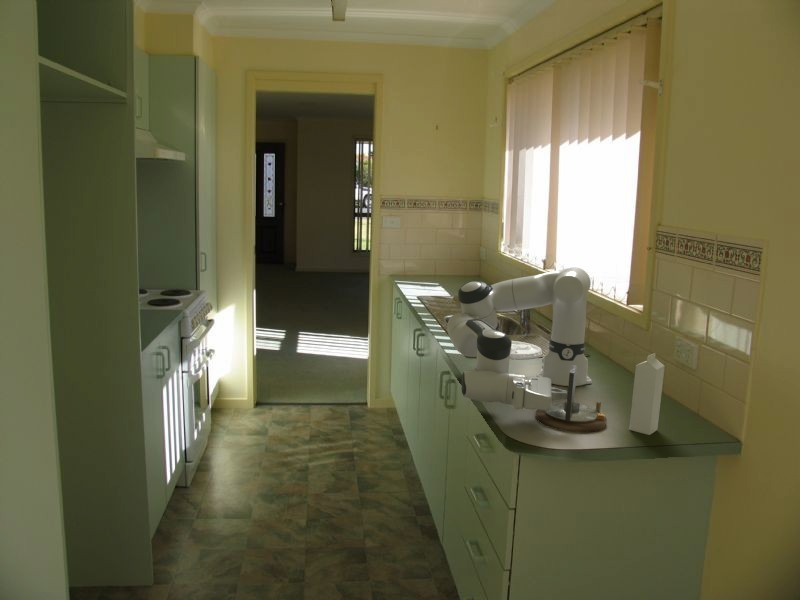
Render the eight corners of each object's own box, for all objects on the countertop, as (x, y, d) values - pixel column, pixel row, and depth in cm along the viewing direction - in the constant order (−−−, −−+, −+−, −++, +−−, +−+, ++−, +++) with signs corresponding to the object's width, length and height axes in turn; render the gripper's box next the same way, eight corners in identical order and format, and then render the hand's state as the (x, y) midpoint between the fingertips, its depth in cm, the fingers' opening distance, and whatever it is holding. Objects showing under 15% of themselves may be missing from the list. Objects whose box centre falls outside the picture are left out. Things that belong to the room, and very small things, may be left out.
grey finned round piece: (548, 403, 219) (552, 354, 216) (605, 411, 213) (610, 361, 211) (539, 421, 201) (544, 369, 199) (601, 431, 196) (606, 377, 193)
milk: (657, 430, 205) (666, 354, 201) (649, 435, 200) (658, 358, 196) (636, 424, 208) (645, 350, 205) (628, 429, 204) (637, 353, 200)
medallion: (554, 357, 284) (554, 351, 284) (499, 363, 271) (499, 357, 271) (516, 343, 304) (516, 338, 304) (463, 348, 291) (463, 343, 291)
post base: (535, 406, 221) (536, 390, 220) (602, 412, 218) (604, 396, 217) (535, 428, 201) (537, 410, 201) (609, 435, 198) (611, 418, 197)
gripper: (518, 390, 215) (565, 395, 212) (515, 411, 195) (567, 417, 192) (520, 369, 214) (567, 374, 211) (517, 388, 194) (570, 394, 191)
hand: (568, 395), depth 202 cm, fingers closed
